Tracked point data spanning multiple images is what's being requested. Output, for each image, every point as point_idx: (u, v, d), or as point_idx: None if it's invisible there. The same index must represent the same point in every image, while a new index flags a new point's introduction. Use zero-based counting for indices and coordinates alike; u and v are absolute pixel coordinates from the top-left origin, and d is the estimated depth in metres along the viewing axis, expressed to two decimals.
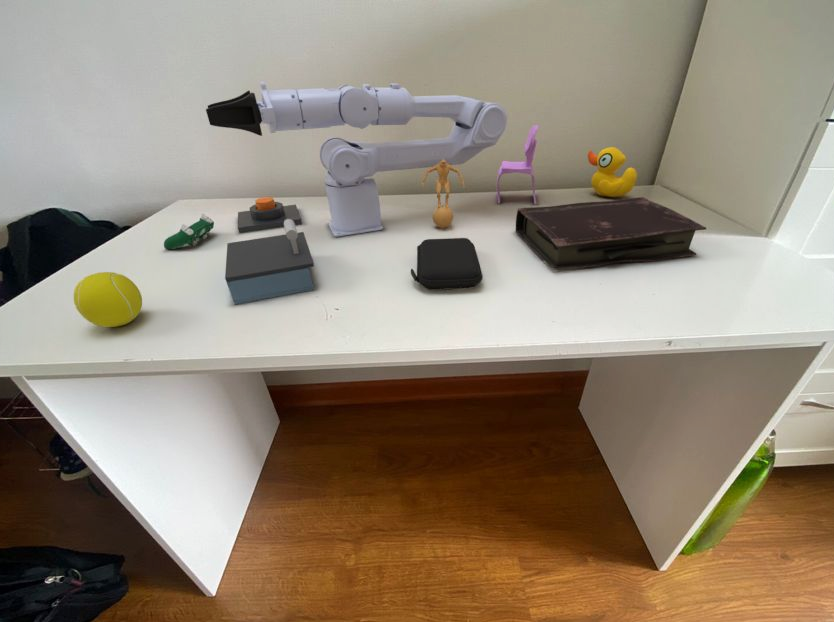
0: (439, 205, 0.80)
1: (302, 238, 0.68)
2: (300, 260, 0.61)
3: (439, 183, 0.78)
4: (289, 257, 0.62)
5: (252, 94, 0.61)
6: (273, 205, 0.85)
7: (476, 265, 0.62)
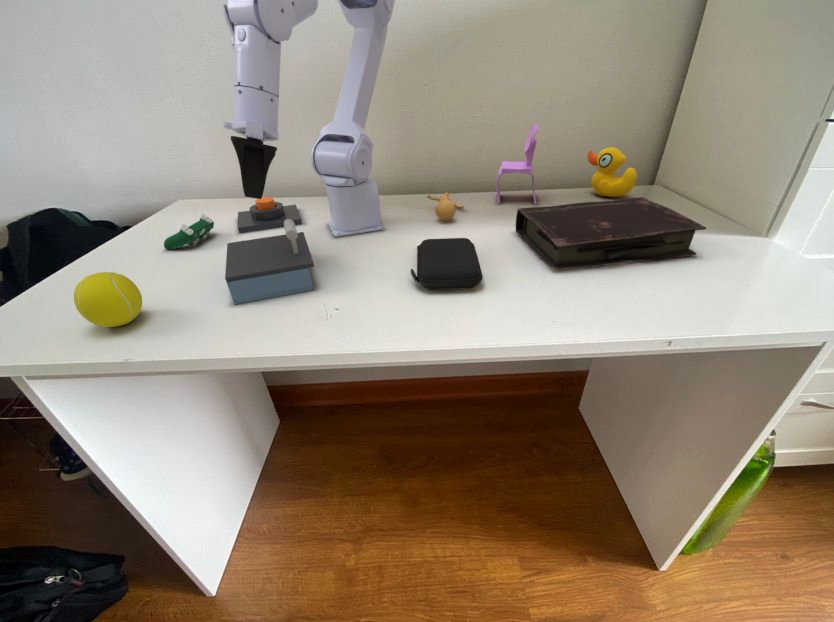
0: None
1: (302, 238, 0.68)
2: (300, 260, 0.61)
3: None
4: (289, 257, 0.62)
5: (231, 138, 0.53)
6: (273, 205, 0.85)
7: (476, 265, 0.62)
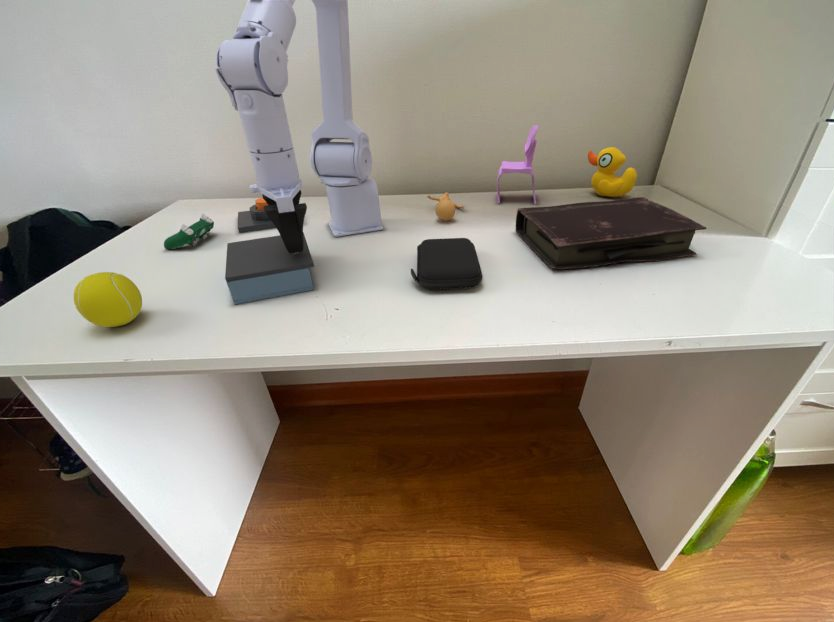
0: None
1: None
2: (300, 260, 0.61)
3: None
4: (289, 257, 0.62)
5: (265, 212, 0.56)
6: None
7: (476, 265, 0.62)
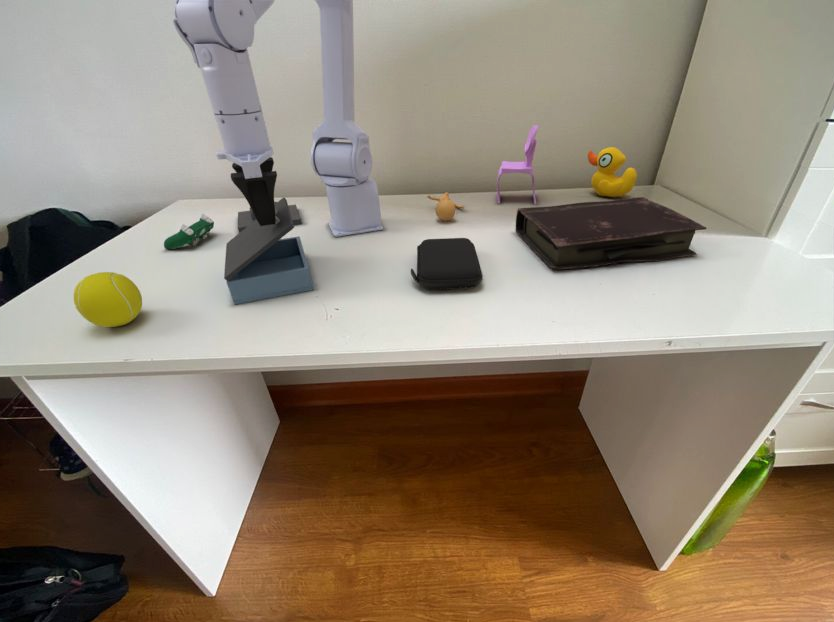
0: None
1: (283, 204, 0.64)
2: (280, 227, 0.58)
3: None
4: (272, 229, 0.59)
5: (232, 179, 0.53)
6: None
7: (476, 265, 0.62)
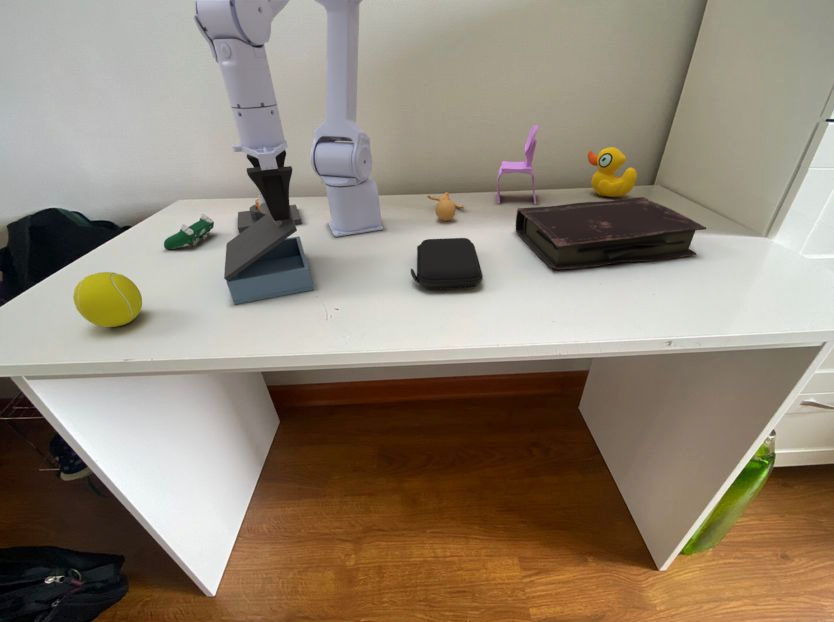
0: None
1: None
2: (283, 230, 0.58)
3: None
4: (274, 231, 0.59)
5: (248, 174, 0.53)
6: None
7: (476, 265, 0.62)
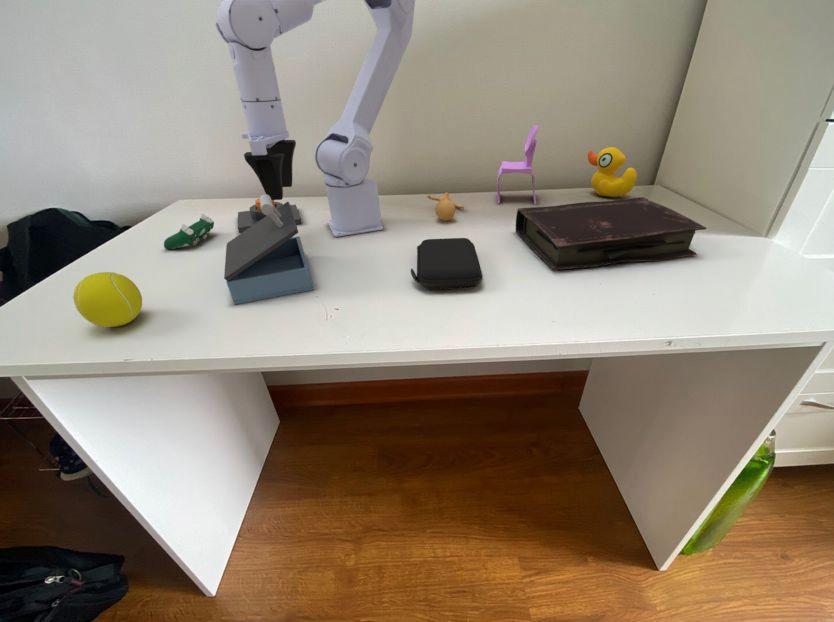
0: None
1: (286, 208, 0.65)
2: (284, 231, 0.58)
3: None
4: (275, 233, 0.60)
5: (244, 156, 0.62)
6: (273, 205, 0.85)
7: (476, 265, 0.62)
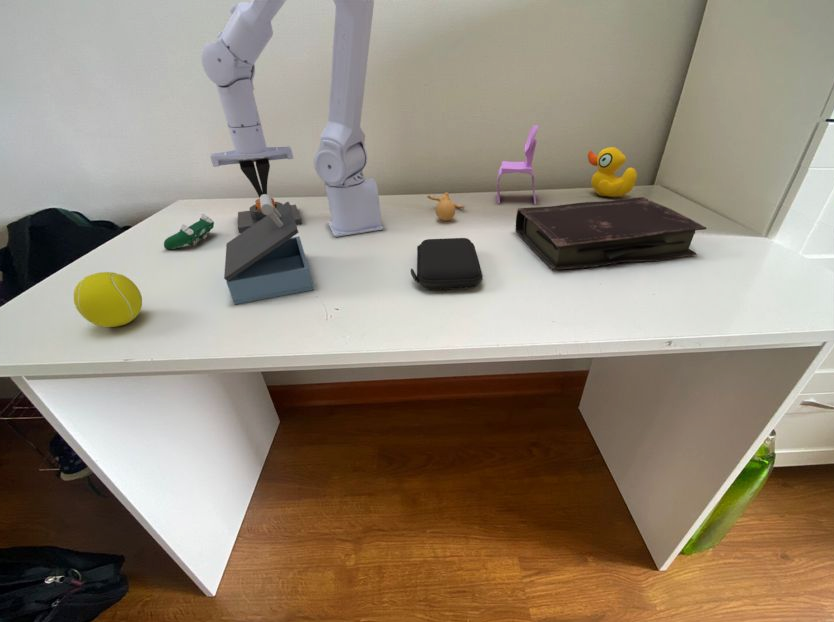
0: None
1: (286, 208, 0.65)
2: (284, 231, 0.58)
3: None
4: (275, 233, 0.60)
5: None
6: (273, 205, 0.85)
7: (476, 265, 0.62)
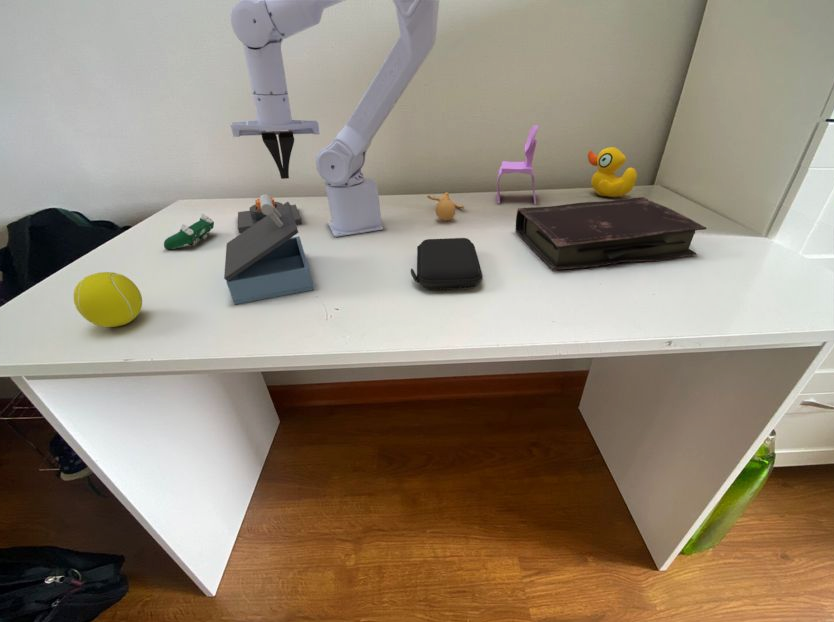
0: None
1: (286, 208, 0.65)
2: (284, 231, 0.58)
3: None
4: (275, 233, 0.60)
5: None
6: (273, 205, 0.85)
7: (476, 265, 0.62)
